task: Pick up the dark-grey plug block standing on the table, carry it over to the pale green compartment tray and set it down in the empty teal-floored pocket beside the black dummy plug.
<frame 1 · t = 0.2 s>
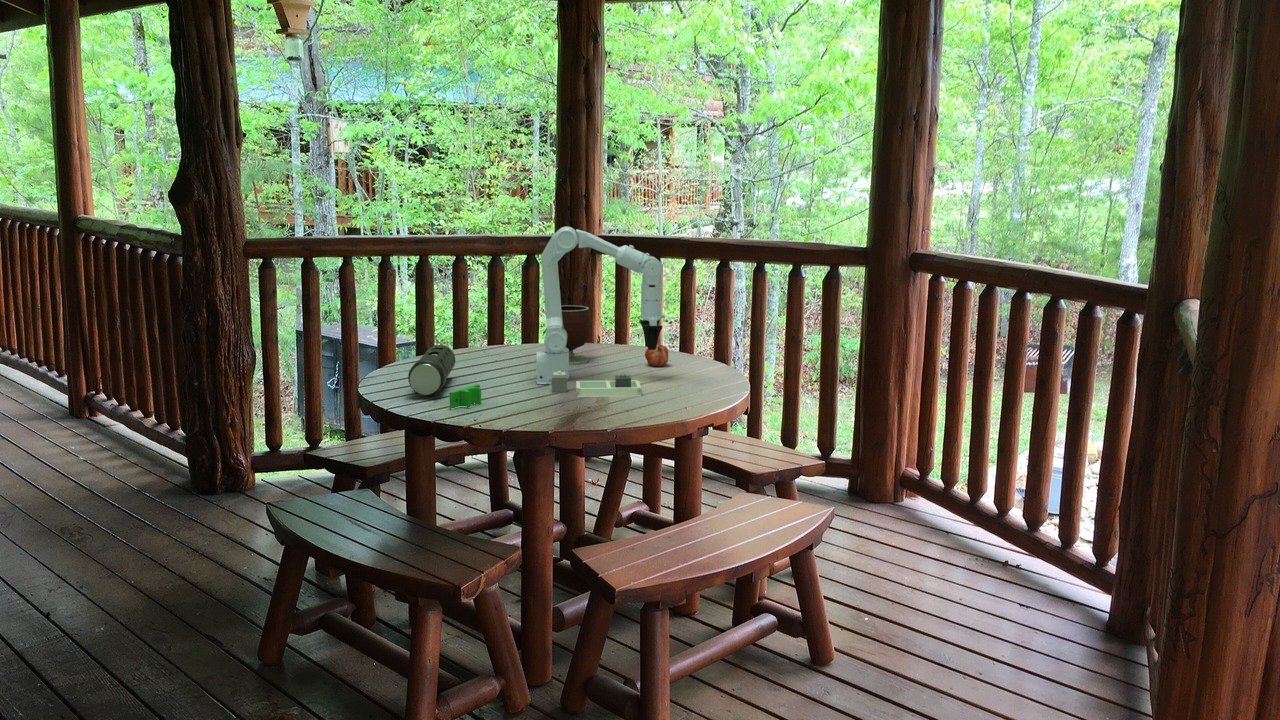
hand: (650, 347, 278), 10 cm above the table, tool pointing down, fingers open, 7 cm apart
pale green compartment tray: (608, 396, 261), on the table
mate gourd: (566, 362, 309), on the table
dummy plug: (623, 391, 261), resting on pale green compartment tray
pipe clamp: (468, 406, 249), on the table
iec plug: (559, 395, 262), on the table
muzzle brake: (433, 389, 269), on the table
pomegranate: (656, 366, 303), on the table
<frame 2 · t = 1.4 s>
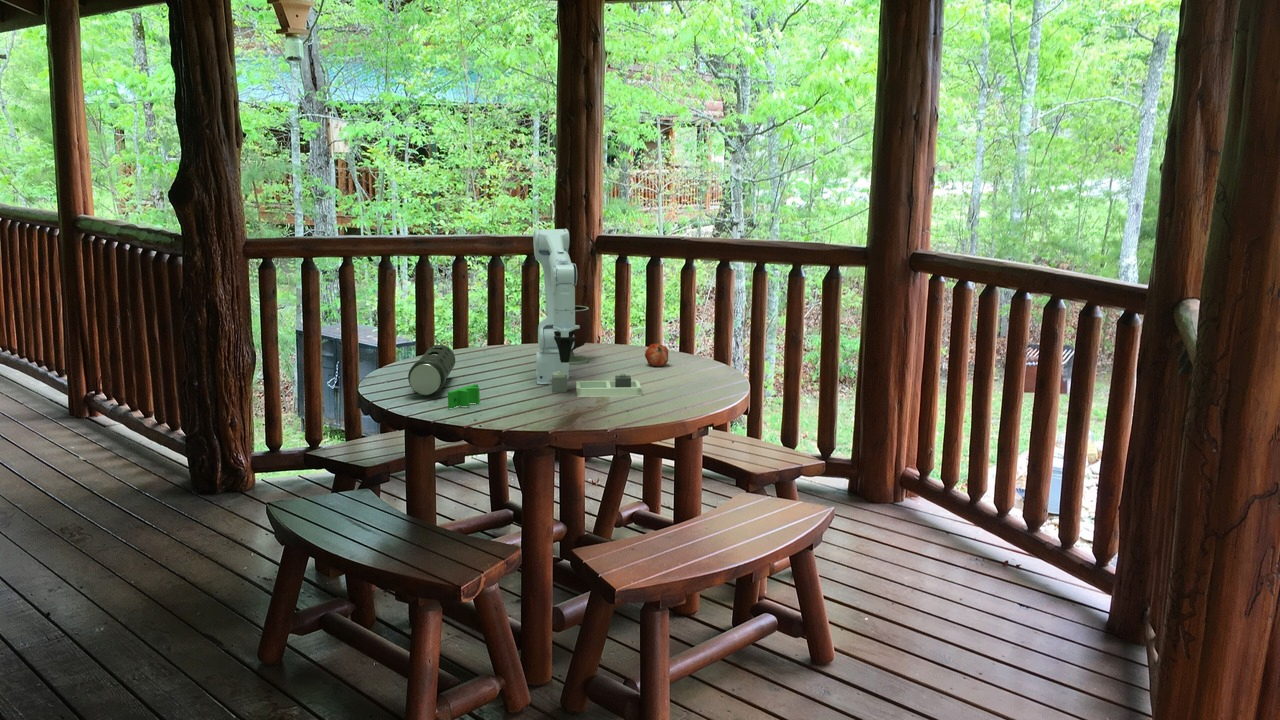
hand: (564, 359, 261), 9 cm above the table, tool pointing down, fingers open, 7 cm apart
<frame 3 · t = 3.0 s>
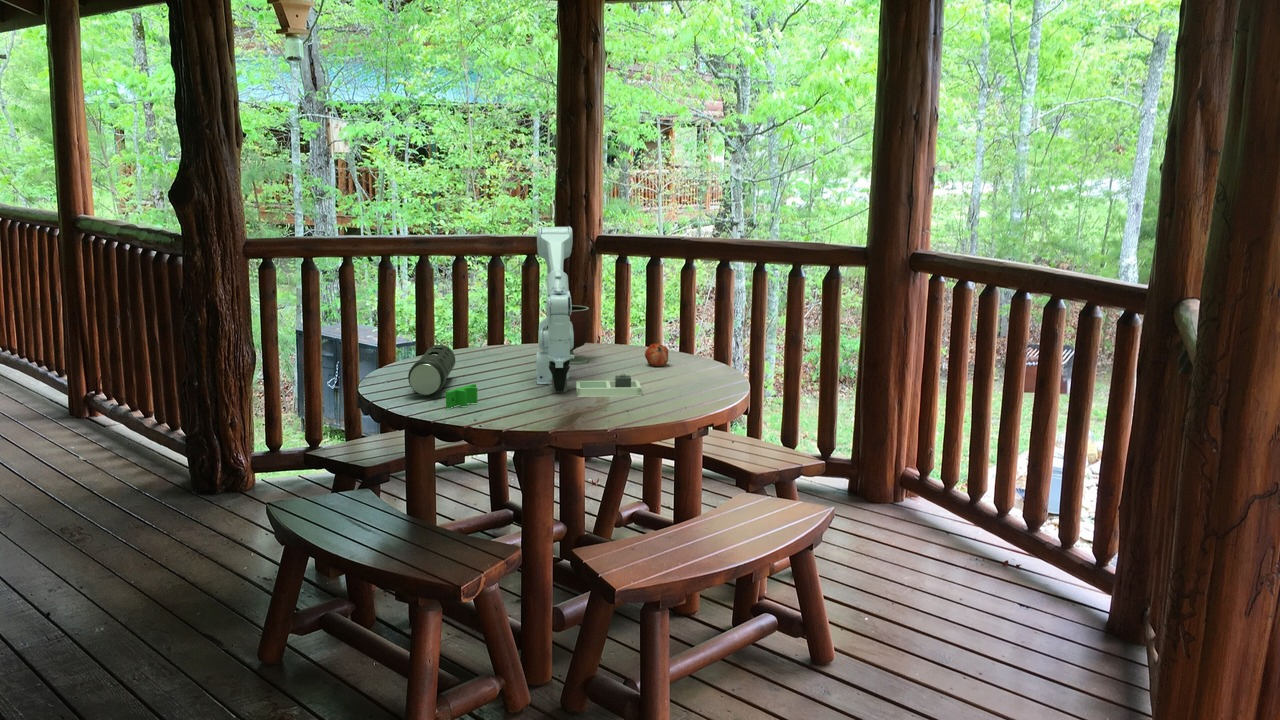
hand: (559, 389, 261), 2 cm above the table, tool pointing down, fingers closed on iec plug, 4 cm apart
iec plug: (559, 395, 262), on the table, touching gripper
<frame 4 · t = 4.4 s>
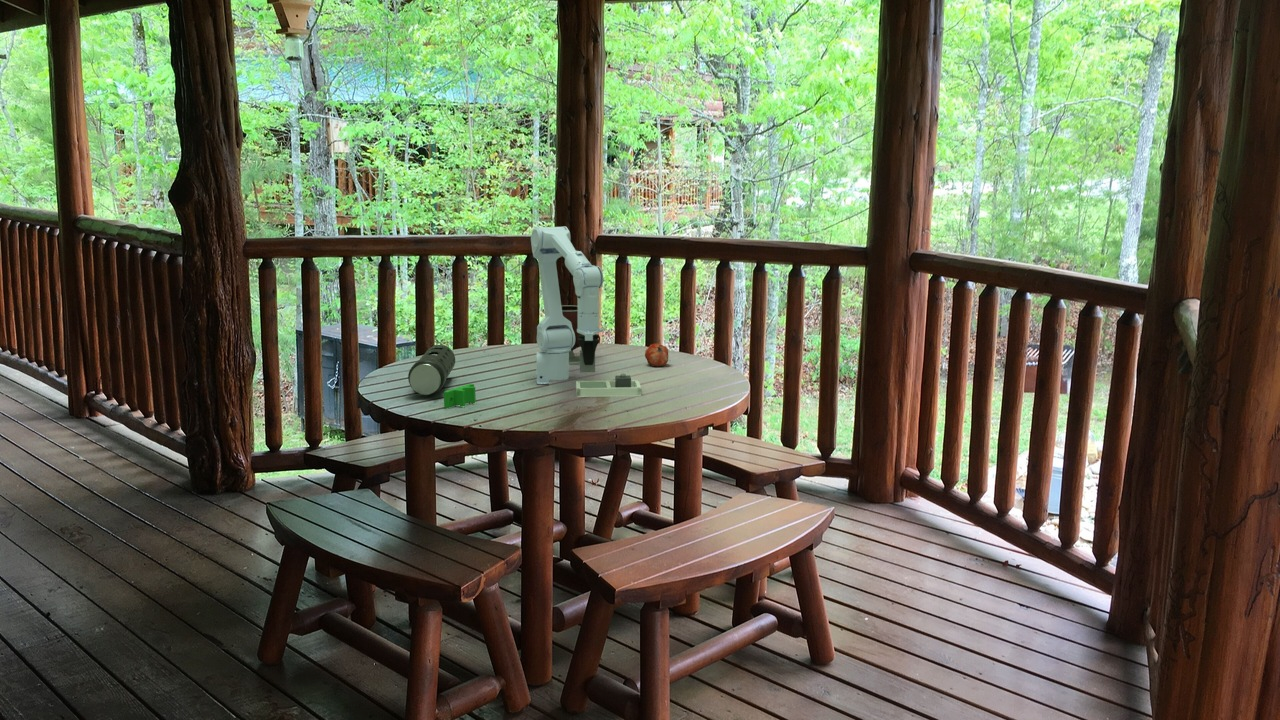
hand: (588, 363, 259), 9 cm above the table, tool pointing down, fingers closed on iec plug, 4 cm apart
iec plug: (587, 370, 259), point 7 cm above the table, touching gripper
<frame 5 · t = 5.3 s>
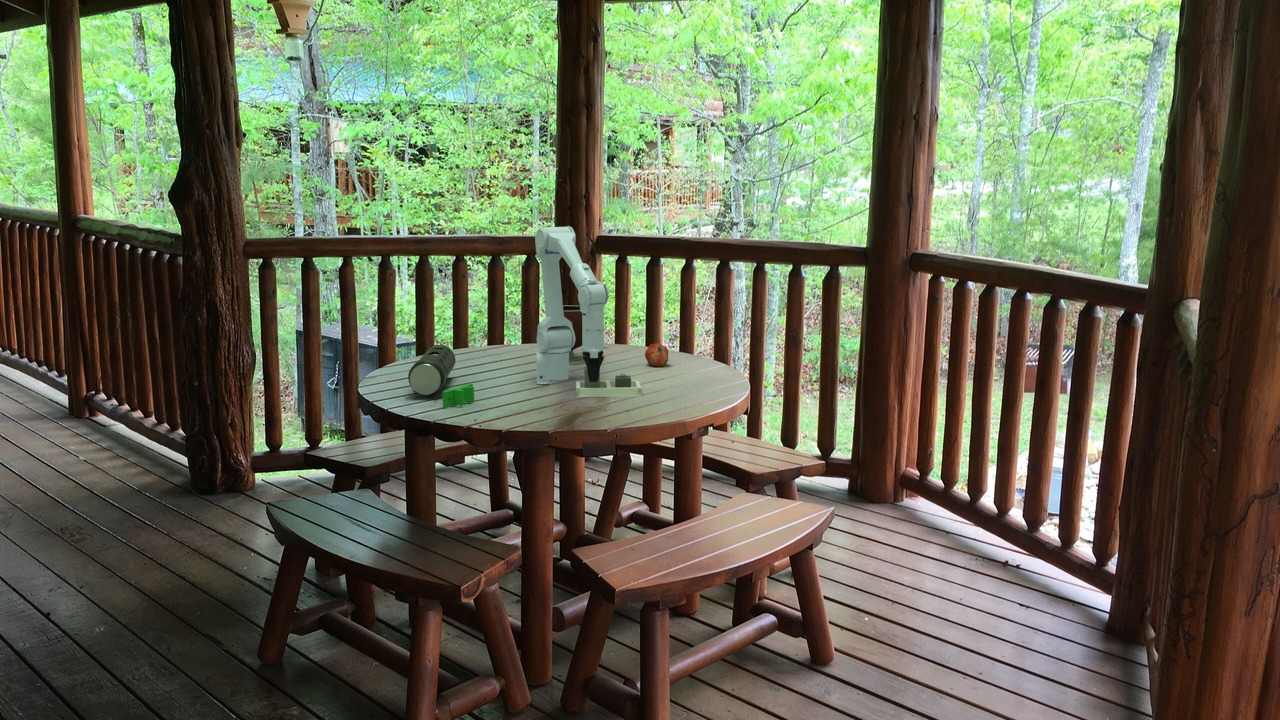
hand: (593, 379, 260), 4 cm above the table, tool pointing down, fingers closed on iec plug, 4 cm apart
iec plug: (592, 387, 260), point 2 cm above the table, touching gripper
when the fingers open (4 cm above the table, at t = 5.9 s): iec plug stays where it is, resting on pale green compartment tray.
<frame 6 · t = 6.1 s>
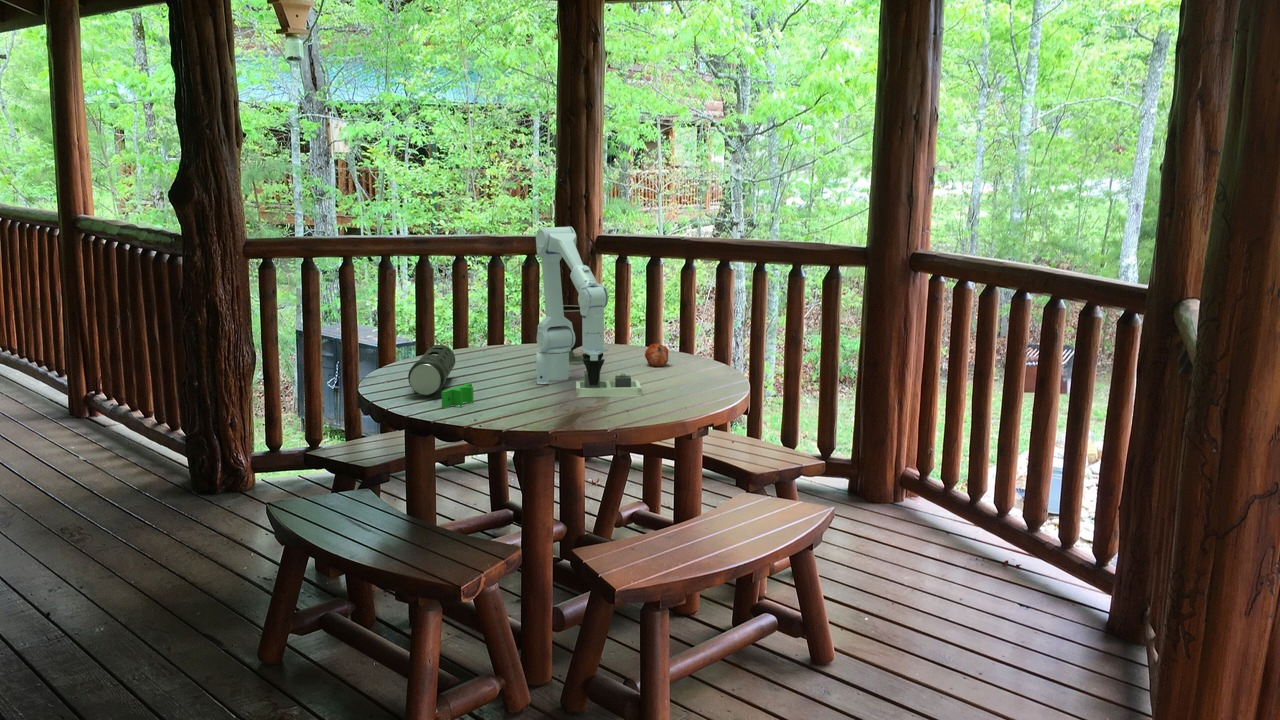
hand: (593, 382, 260), 4 cm above the table, tool pointing down, fingers open, 6 cm apart
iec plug: (592, 391, 260), point 1 cm above the table, touching pale green compartment tray
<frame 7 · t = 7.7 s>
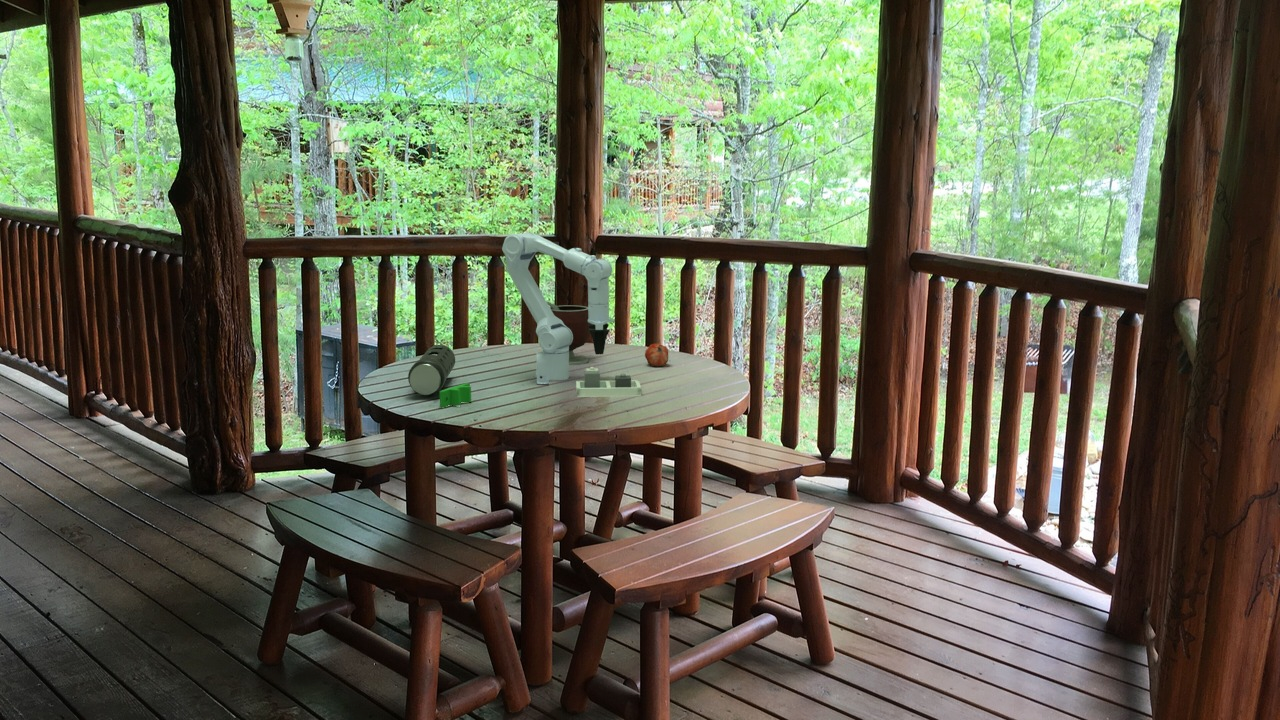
hand: (599, 351, 271), 10 cm above the table, tool pointing down, fingers open, 7 cm apart
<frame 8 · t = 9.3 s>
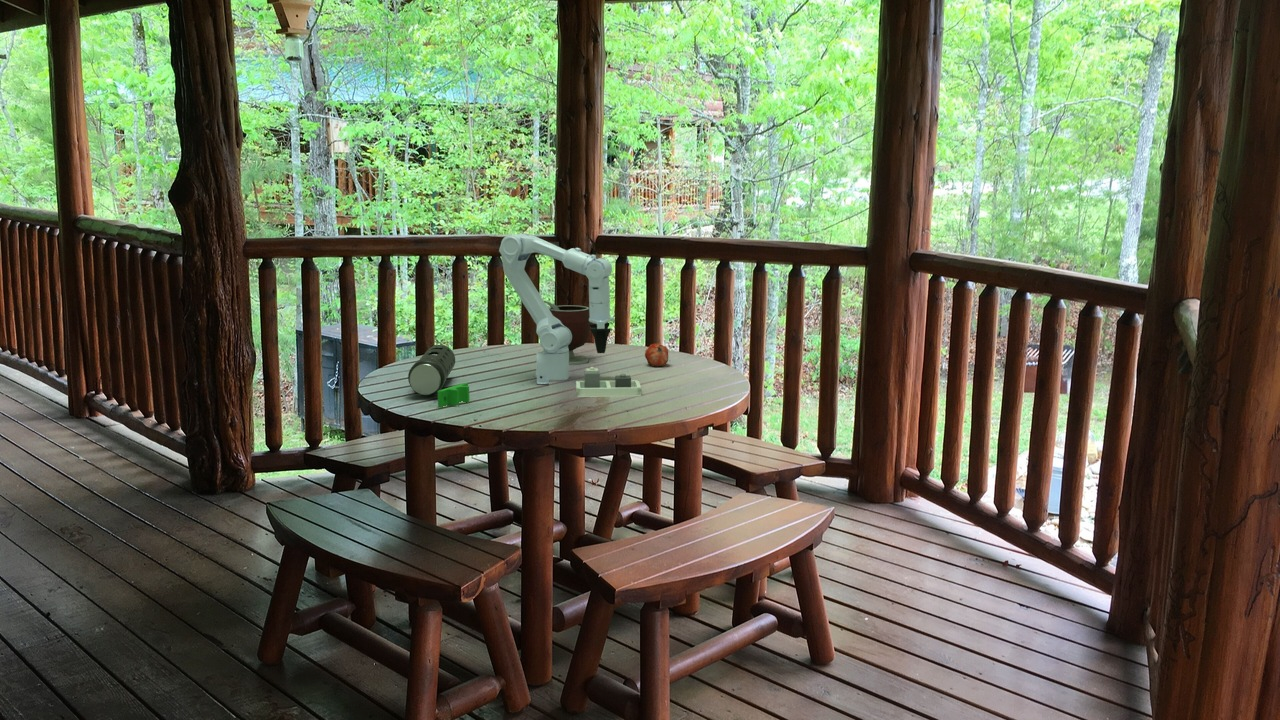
hand: (600, 350, 272), 10 cm above the table, tool pointing down, fingers open, 7 cm apart
at the end: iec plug inside the target area on the pale green compartment tray (0.3 cm from its centre), point 1.3 cm above the pale green compartment tray's base; the gripper is holding nothing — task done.
